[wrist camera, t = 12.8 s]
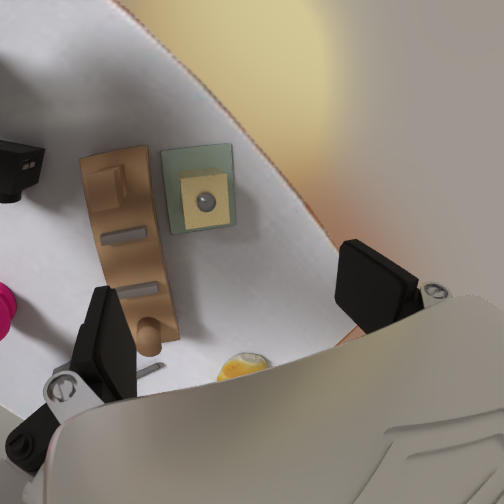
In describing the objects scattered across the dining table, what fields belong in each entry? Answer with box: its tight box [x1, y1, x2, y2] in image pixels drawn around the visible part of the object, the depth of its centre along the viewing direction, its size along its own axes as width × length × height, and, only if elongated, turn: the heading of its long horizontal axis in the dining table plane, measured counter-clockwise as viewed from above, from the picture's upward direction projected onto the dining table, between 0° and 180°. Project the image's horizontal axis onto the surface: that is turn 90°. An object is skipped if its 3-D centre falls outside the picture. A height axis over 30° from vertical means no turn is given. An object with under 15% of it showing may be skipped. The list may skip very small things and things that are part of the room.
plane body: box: [80, 145, 180, 357], centre depth 28 cm, size 24×7×10 cm, turn 3°
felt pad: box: [161, 143, 236, 235], centre depth 32 cm, size 10×8×1 cm
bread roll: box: [217, 353, 267, 382], centre depth 44 cm, size 8×9×4 cm
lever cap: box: [178, 167, 230, 230], centre depth 29 cm, size 5×4×7 cm
